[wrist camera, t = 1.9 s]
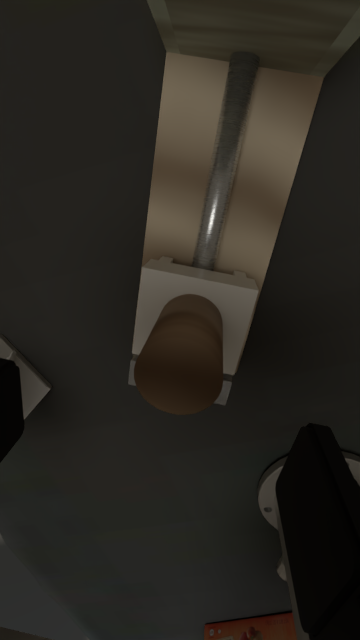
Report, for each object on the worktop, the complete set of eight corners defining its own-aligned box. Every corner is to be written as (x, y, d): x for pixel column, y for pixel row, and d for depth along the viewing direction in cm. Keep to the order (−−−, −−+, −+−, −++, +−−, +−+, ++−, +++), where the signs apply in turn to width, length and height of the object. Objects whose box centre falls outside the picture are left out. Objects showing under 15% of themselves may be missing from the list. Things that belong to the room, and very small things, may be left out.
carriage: (232, 346, 23) (239, 445, 14) (145, 328, 24) (98, 413, 14) (252, 273, 21) (276, 335, 12) (155, 254, 21) (105, 300, 12)
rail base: (235, 363, 26) (242, 448, 17) (136, 342, 26) (95, 414, 18) (356, -55, 15) (533, -379, 7) (187, -78, 16) (146, -411, 7)
